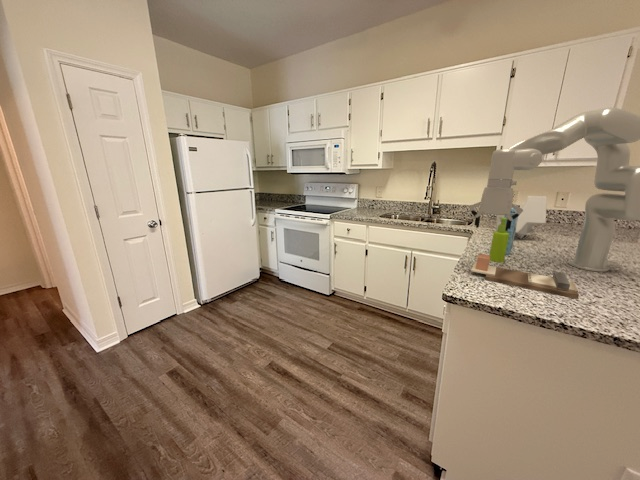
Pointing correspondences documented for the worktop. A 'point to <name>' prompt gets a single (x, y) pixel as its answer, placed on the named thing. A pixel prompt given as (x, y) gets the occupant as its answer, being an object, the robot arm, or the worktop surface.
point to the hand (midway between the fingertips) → (491, 228)
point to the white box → (529, 216)
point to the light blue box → (511, 231)
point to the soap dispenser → (499, 242)
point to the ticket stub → (483, 265)
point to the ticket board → (536, 282)
